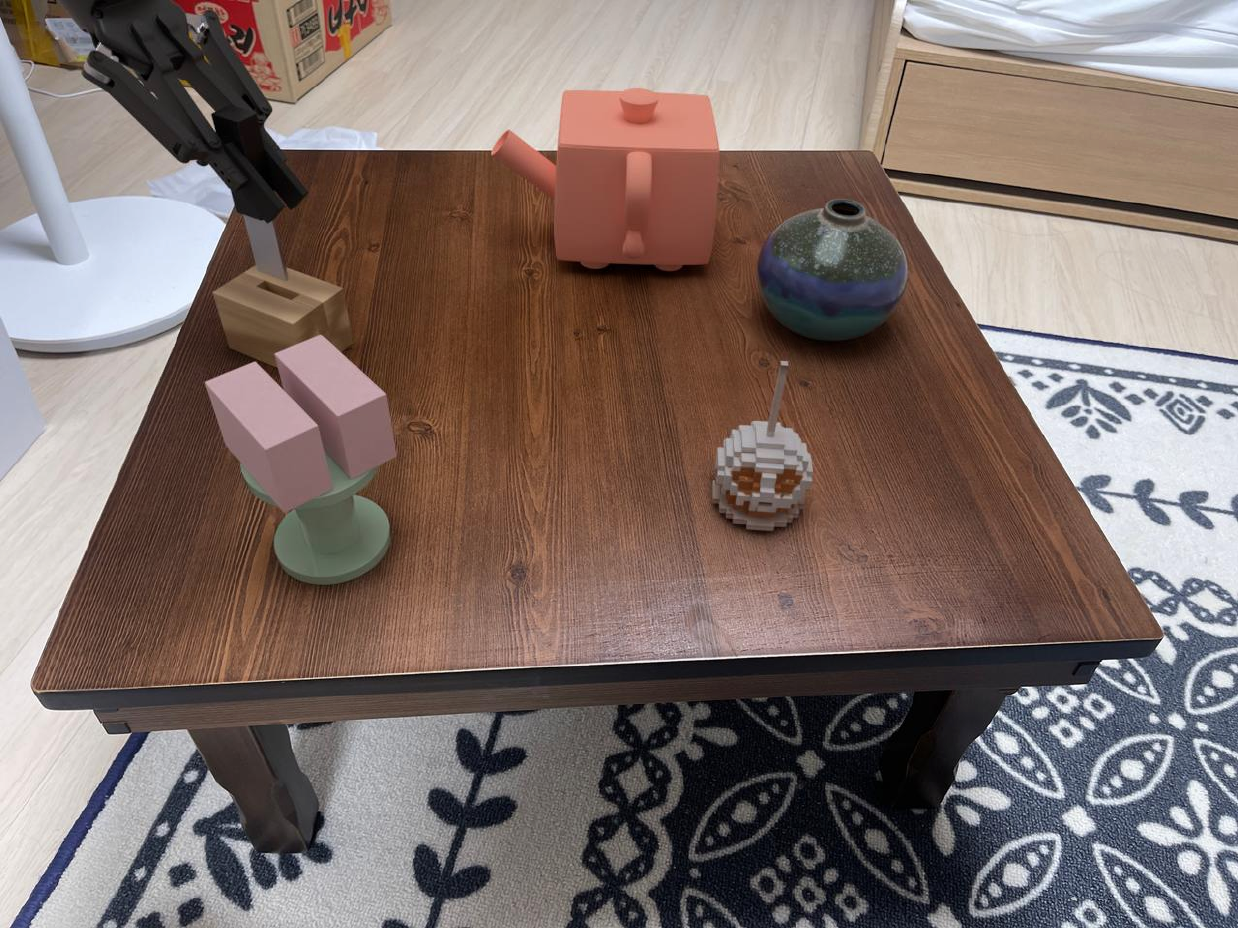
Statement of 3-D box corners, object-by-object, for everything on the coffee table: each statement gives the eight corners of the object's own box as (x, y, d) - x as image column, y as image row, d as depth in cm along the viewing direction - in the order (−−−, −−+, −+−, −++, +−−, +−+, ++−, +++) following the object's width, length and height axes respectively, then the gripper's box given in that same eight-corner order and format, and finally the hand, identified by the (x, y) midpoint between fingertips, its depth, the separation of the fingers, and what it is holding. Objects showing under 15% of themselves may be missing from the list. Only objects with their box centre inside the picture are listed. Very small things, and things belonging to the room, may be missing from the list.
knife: (279, 286, 87) (240, 123, 76) (250, 275, 88) (207, 112, 77) (296, 275, 88) (259, 113, 78) (267, 264, 90) (227, 103, 79)
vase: (903, 367, 96) (939, 253, 86) (753, 358, 96) (773, 243, 87) (880, 285, 107) (910, 176, 98) (746, 277, 107) (763, 167, 98)
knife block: (306, 380, 90) (292, 323, 86) (228, 348, 93) (211, 292, 89) (353, 343, 95) (343, 288, 90) (278, 314, 98) (264, 259, 93)
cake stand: (308, 611, 70) (281, 521, 64) (247, 535, 76) (216, 444, 69) (421, 547, 76) (406, 457, 69) (356, 480, 81) (337, 390, 74)
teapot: (487, 291, 103) (476, 134, 90) (503, 193, 119) (496, 49, 107) (713, 297, 104) (733, 143, 91) (698, 199, 120) (714, 57, 108)
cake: (284, 513, 64) (265, 449, 60) (225, 445, 69) (203, 381, 65) (397, 456, 69) (386, 393, 65) (334, 396, 73) (321, 333, 69)
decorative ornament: (712, 531, 78) (735, 392, 68) (710, 467, 84) (731, 330, 73) (805, 537, 78) (842, 399, 68) (797, 473, 84) (830, 336, 73)
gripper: (150, -28, 83) (328, 193, 89) (-6, 20, 73) (207, 265, 79) (177, -86, 78) (364, 154, 84) (12, -43, 68) (239, 226, 74)
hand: (287, 207), depth 82 cm, fingers closed on knife, 2 cm apart
